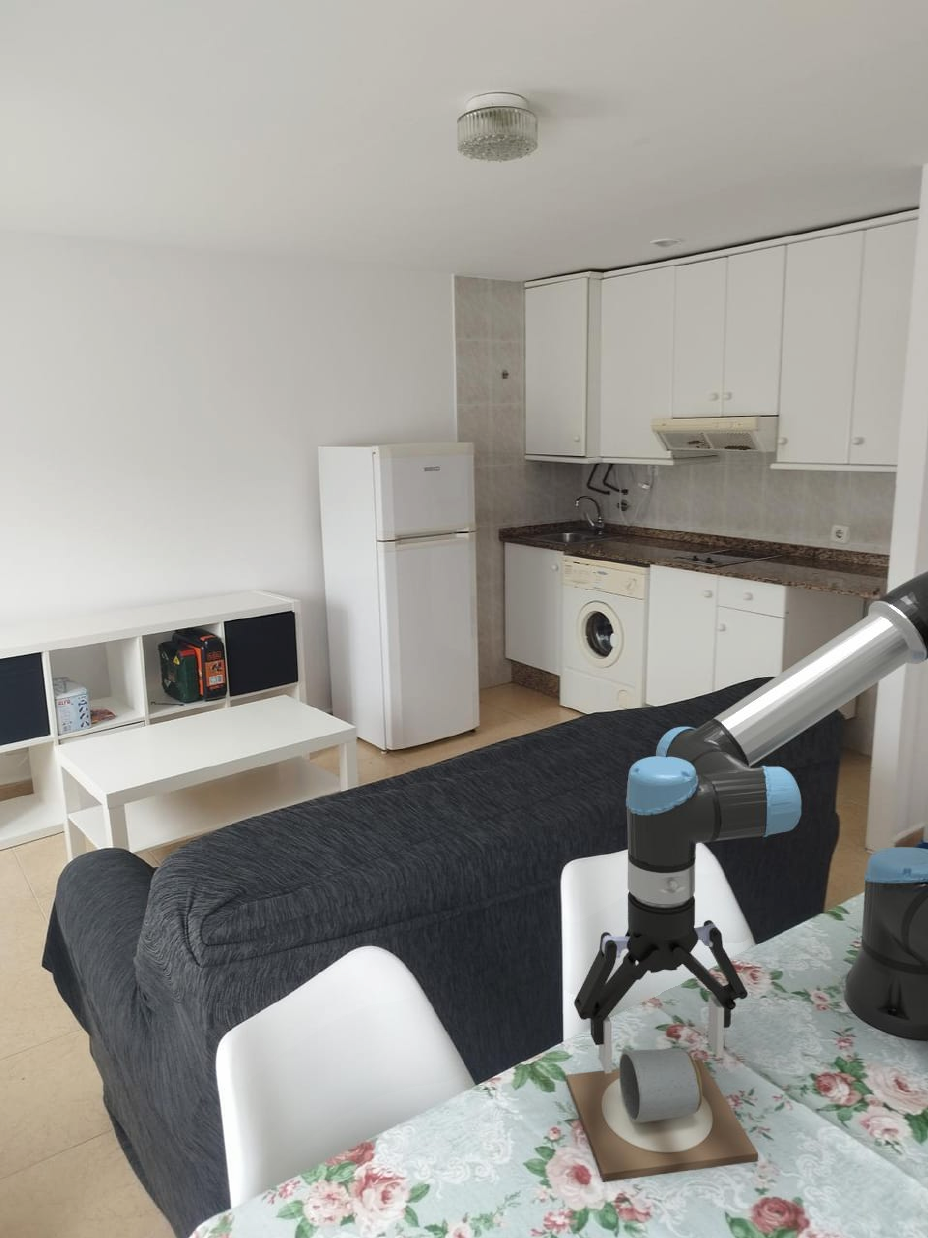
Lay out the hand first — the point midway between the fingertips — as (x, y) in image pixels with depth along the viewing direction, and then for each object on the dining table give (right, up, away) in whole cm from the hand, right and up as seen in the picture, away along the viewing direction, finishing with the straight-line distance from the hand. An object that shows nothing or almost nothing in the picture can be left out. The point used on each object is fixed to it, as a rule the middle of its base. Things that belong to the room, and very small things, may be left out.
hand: (660, 1058), depth 106 cm
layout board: (0, -8, +1) cm, 8 cm away
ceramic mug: (0, -7, +2) cm, 7 cm away
